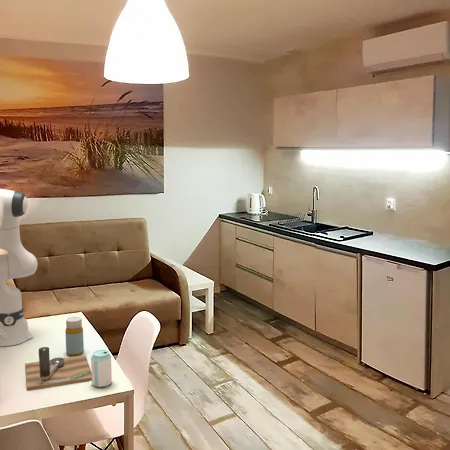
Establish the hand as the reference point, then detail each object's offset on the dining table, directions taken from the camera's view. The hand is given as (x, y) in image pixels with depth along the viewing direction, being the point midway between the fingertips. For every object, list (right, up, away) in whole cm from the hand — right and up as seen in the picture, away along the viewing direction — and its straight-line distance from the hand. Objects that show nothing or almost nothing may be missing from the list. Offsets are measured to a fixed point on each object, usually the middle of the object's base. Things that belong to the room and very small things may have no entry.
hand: (5, 339), depth 182 cm
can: (+32, -18, +8) cm, 37 cm away
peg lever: (+11, -15, +13) cm, 23 cm away
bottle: (+14, -14, +35) cm, 40 cm away
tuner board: (+13, -17, +16) cm, 27 cm away
